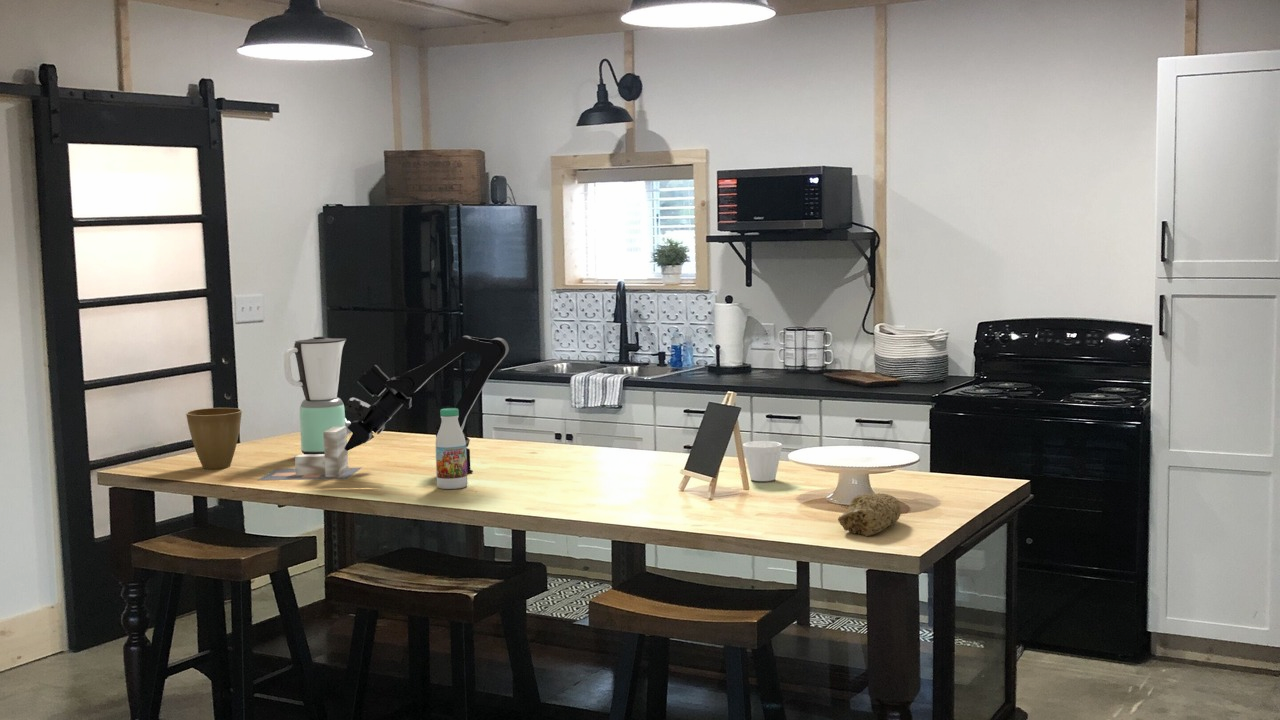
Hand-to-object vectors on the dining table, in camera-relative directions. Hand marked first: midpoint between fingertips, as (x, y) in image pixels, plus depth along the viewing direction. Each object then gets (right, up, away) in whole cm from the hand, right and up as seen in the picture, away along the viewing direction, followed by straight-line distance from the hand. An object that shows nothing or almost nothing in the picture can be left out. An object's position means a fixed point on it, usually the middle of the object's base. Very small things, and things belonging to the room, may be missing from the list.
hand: (345, 449), depth 341 cm
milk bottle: (+32, -8, -20) cm, 38 cm away
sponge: (+128, -11, -73) cm, 148 cm away
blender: (-15, -4, +32) cm, 36 cm away
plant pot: (-41, -6, +17) cm, 44 cm away
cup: (+110, -6, -21) cm, 113 cm away
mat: (-10, -7, +1) cm, 12 cm away
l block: (-7, -7, +1) cm, 10 cm away
